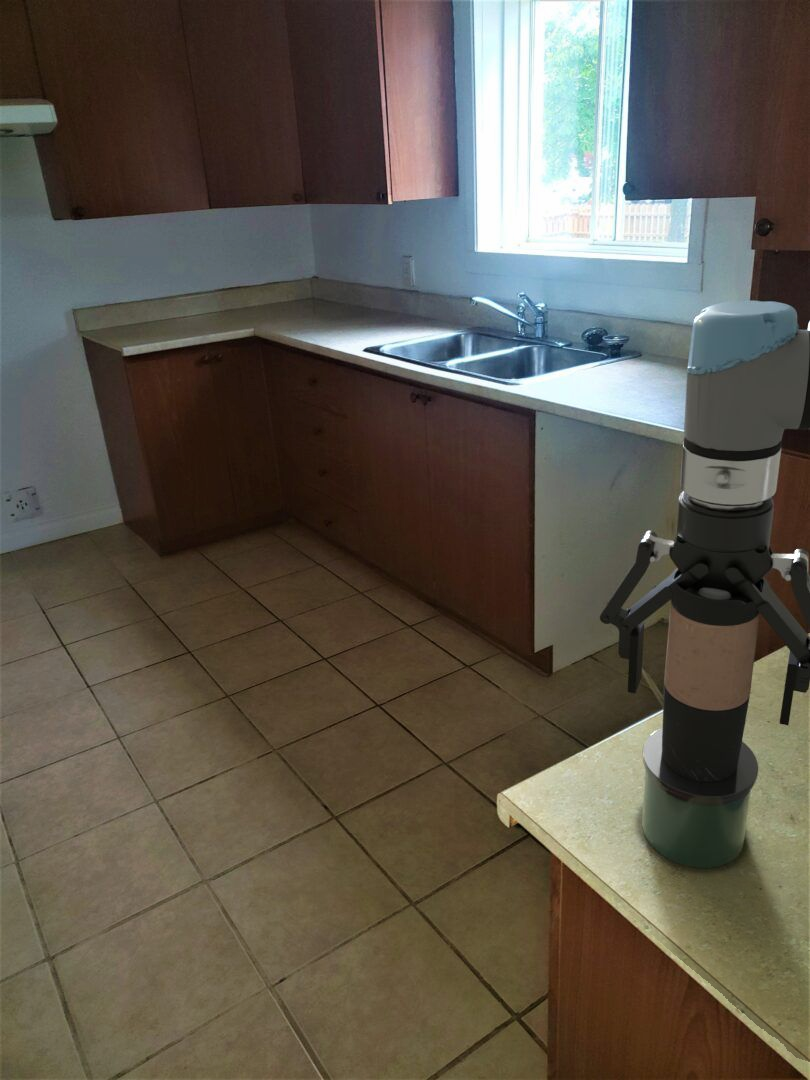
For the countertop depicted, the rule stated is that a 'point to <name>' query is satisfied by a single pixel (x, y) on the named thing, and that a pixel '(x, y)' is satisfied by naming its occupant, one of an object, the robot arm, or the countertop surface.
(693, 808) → the jar
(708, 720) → the travel mug
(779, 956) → the countertop surface
